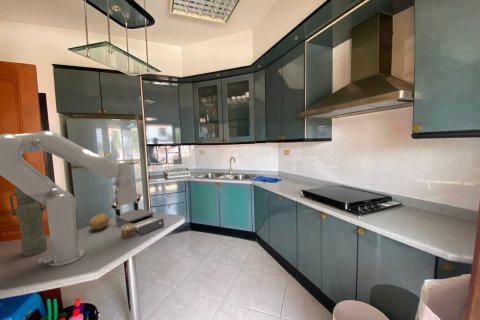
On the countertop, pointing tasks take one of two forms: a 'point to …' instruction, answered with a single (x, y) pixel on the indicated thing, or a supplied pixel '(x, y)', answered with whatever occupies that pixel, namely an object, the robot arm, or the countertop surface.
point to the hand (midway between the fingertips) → (127, 212)
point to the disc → (127, 227)
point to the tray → (148, 225)
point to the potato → (99, 221)
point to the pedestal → (128, 233)
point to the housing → (133, 217)
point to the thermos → (29, 223)
